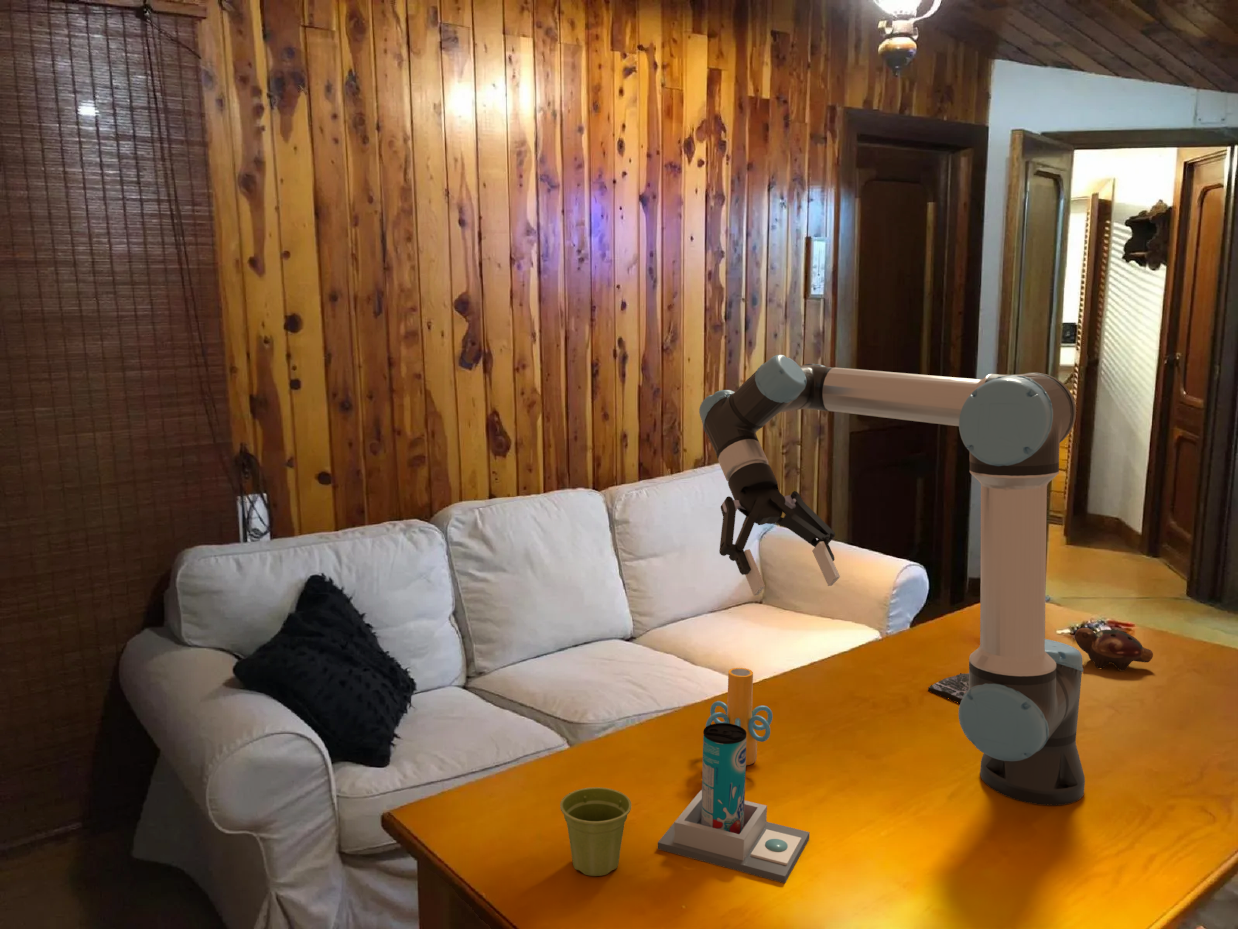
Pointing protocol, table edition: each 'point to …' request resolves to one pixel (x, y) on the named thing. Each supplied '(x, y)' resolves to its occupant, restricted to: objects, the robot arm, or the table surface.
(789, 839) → the can holder
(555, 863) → the table surface
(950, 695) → the terrain model
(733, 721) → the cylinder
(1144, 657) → the decorative turtle
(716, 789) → the beverage can
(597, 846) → the plant pot
